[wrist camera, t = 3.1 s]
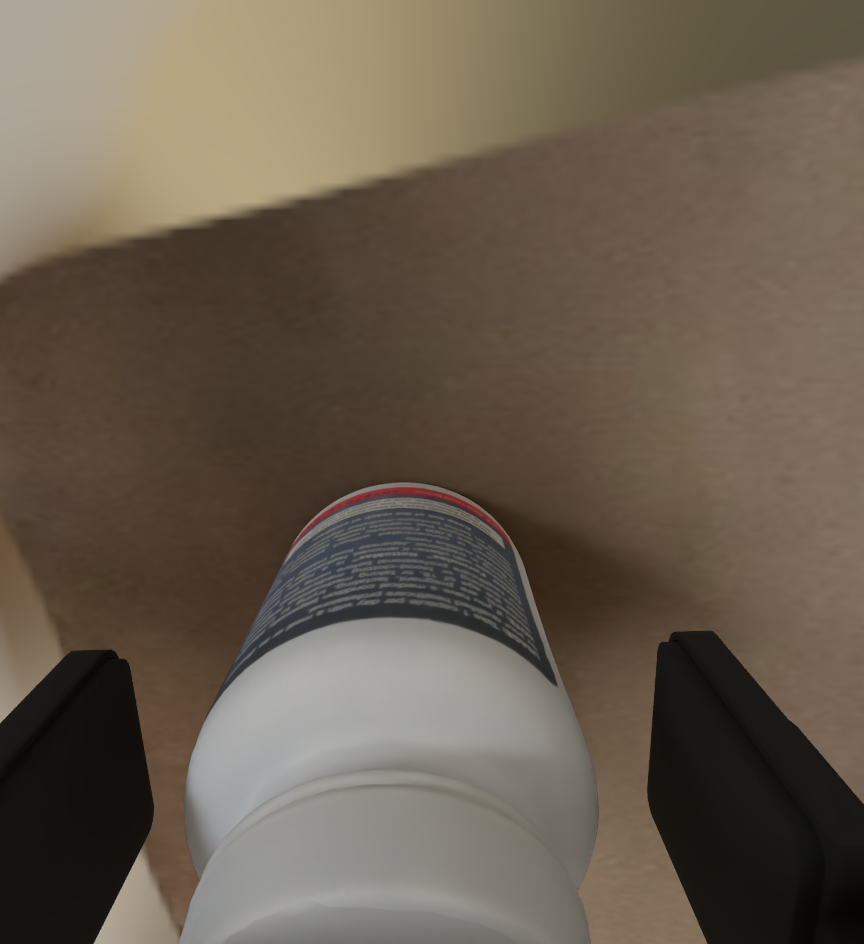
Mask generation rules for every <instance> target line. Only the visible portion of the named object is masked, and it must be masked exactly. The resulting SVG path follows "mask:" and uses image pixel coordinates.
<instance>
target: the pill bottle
mask: <svg viewBox="0 0 864 944" xmlns="http://www.w3.org/2000/svg"><path fill="white" fill-rule="evenodd" d="M598 815H599V809H598V795H597V785H596V779H595V774H594V769H593V764H592V761H591V758H590V755H589V751H588V748H587V745H586V742H585V739H584V737H583V734H582V731H581V729H580V726H579V723H578V721H577V718H576V715H575V713H574V710H573V707H572V705H571V702H570V700H569V697H568V695H567V692H566V690H565V687H564V684H563V682H562V679H561V677H560V674H559V672H558V669H557V666H556V663H555V661H554V658H553V655H552V652H551V650H550V647H549V644H548V641H547V638H546V635H545V632H544V629H543V626H542V623H541V620H540V617H539V613H538V610H537V607H536V604H535V601H534V598H533V594H532V591H531V588H530V584H529V581H528V578H527V574H526V571H525V568H524V565H523V562H522V560H521V557H520V555H519V553H518V551H517V549H516V547H515V545H514V544H513V542H512V541H511V539H510V537H509V536H508V534H507V533H506V532H505V530H504V529H503V528H502V527H501V525H500V524H499V523H498V522H497V521H496V520H495V519H494V518H493V517H492V516H491V515H490V514H489V513H487V512H486V511H485V510H484V509H483V508H481V507H480V506H479V505H477V504H476V503H474V502H472V501H471V500H469V499H467V498H466V497H463V496H461V495H459V494H457V493H455V492H453V491H450V490H447V489H444V488H441V487H437V486H432V485H427V484H421V483H410V482H403V483H388V484H381V485H375V486H371V487H367V488H364V489H361V490H358V491H355V492H353V493H350V494H348V495H346V496H344V497H342V498H340V499H338V500H336V501H335V502H333V503H332V504H330V505H329V506H327V507H326V508H325V509H323V510H322V511H321V512H320V513H318V514H317V515H316V516H315V517H314V518H313V519H312V520H311V521H310V522H309V523H308V524H307V525H306V526H305V527H304V529H303V530H302V531H301V532H300V534H299V535H298V537H297V538H296V540H295V541H294V543H293V545H292V547H291V549H290V550H289V552H288V554H287V555H286V557H285V559H284V561H283V563H282V565H281V567H280V570H279V572H278V574H277V576H276V578H275V580H274V582H273V584H272V586H271V588H270V590H269V592H268V594H267V596H266V598H265V600H264V602H263V604H262V606H261V608H260V610H259V612H258V614H257V616H256V618H255V620H254V622H253V624H252V626H251V628H250V630H249V632H248V634H247V636H246V638H245V640H244V642H243V644H242V646H241V648H240V650H239V652H238V654H237V656H236V658H235V660H234V662H233V664H232V666H231V668H230V670H229V672H228V674H227V676H226V678H225V680H224V682H223V684H222V686H221V688H220V690H219V692H218V694H217V696H216V698H215V700H214V702H213V705H212V706H211V708H210V710H209V712H208V714H207V716H206V719H205V721H204V724H203V726H202V729H201V731H200V734H199V737H198V739H197V742H196V746H195V748H194V751H193V753H192V756H191V760H190V764H189V768H188V773H187V779H186V786H185V794H184V818H185V831H186V839H187V843H188V847H189V851H190V854H191V858H192V862H193V864H194V867H195V869H196V872H197V874H198V877H199V879H200V882H199V884H198V886H197V888H196V890H195V893H194V895H193V898H192V900H191V902H190V906H189V911H188V914H187V917H186V921H185V925H184V928H183V931H182V934H181V937H180V940H179V943H178V944H591V941H590V936H589V928H588V922H587V918H586V914H585V911H584V907H583V904H582V902H581V899H580V897H579V895H578V893H577V890H578V888H579V886H580V884H581V882H582V881H583V879H584V876H585V874H586V871H587V868H588V866H589V863H590V859H591V855H592V852H593V849H594V844H595V839H596V834H597V829H598Z"/></svg>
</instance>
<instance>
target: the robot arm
mask: <svg viewBox="0 0 864 944" xmlns="http://www.w3.org/2000/svg"><path fill="white" fill-rule="evenodd" d="M647 793H648V802H649V807H650V811H651V814H652V817H653V819H654V821H655V824H656V826H657V828H658V831H659V833H660V835H661V838H662V840H663V842H664V844H665V847H666V849H667V851H668V854H669V856H670V858H671V861H672V863H673V865H674V868H675V870H676V872H677V874H678V877H679V879H680V881H681V884H682V886H683V888H684V891H685V893H686V895H687V897H688V900H689V902H690V904H691V907H692V909H693V911H694V914H695V916H696V918H697V920H698V923H699V925H700V927H701V930H702V932H703V934H704V937H705V939H706V941H707V943H708V944H864V804H863V803H862V802H861V801H860V800H859V798H858V797H857V796H856V795H855V794H854V793H853V791H852V790H851V789H850V788H849V787H848V786H847V784H846V783H845V782H844V781H843V780H842V779H841V777H840V776H839V775H838V774H837V773H836V771H835V770H834V769H833V768H832V767H831V766H830V764H829V763H828V762H827V761H826V760H825V759H824V757H823V756H822V755H821V754H820V753H819V752H818V750H817V749H816V748H815V747H814V746H813V745H812V743H811V742H810V741H809V740H808V739H807V737H806V736H805V735H804V734H803V733H802V732H801V730H800V729H799V728H798V727H797V726H796V725H794V724H793V723H792V722H791V721H789V720H788V719H787V717H786V716H785V715H784V714H783V713H782V712H781V710H780V709H779V708H778V707H777V706H776V704H775V703H774V702H773V701H772V700H771V699H770V697H769V696H768V695H767V694H766V693H765V691H764V690H763V689H762V688H761V687H760V686H759V684H758V683H757V682H756V681H755V680H754V678H753V677H752V676H751V675H750V674H749V673H748V671H747V670H746V669H745V668H744V667H743V665H742V664H741V663H740V662H739V661H738V660H737V658H736V657H735V656H734V655H733V654H732V652H731V651H730V650H729V649H728V648H727V647H726V645H725V644H724V643H723V642H722V641H721V639H720V638H719V637H718V636H717V635H716V634H715V633H714V632H713V631H687V632H673V633H672V634H671V636H670V639H669V642H661V643H660V644H659V647H658V652H657V666H656V679H655V692H654V706H653V719H652V733H651V746H650V759H649V773H648V786H647ZM153 815H154V804H153V798H152V792H151V786H150V780H149V775H148V769H147V763H146V757H145V751H144V746H143V740H142V734H141V728H140V722H139V717H138V711H137V705H136V699H135V694H134V688H133V682H132V676H131V670H130V666H129V663H128V662H127V660H125V659H119V658H118V656H117V654H116V652H115V651H113V650H83V651H71V652H70V653H69V654H67V655H66V656H65V657H64V658H63V659H62V660H61V661H60V662H59V663H58V664H57V665H56V666H55V668H54V669H52V671H51V672H50V673H49V674H48V675H47V676H46V677H45V678H44V679H43V680H42V681H41V682H40V683H39V684H38V685H37V686H36V687H35V688H34V689H33V690H32V691H31V692H30V693H29V694H28V695H27V696H26V697H25V699H23V701H21V703H20V704H19V705H18V706H17V707H16V708H15V709H14V710H13V711H12V712H11V713H10V714H9V715H8V716H7V717H6V718H5V719H4V720H3V721H2V722H1V723H0V944H93V943H94V942H95V939H96V937H97V936H98V934H99V931H100V930H101V927H102V926H103V924H104V922H105V919H106V918H107V916H108V913H109V912H110V909H111V908H112V906H113V904H114V902H115V900H116V898H117V896H118V894H119V892H120V890H121V888H122V886H123V884H124V882H125V880H126V878H127V876H128V874H129V872H130V870H131V868H132V866H133V864H134V862H135V860H136V858H137V856H138V854H139V852H140V850H141V848H142V846H143V844H144V842H145V840H146V838H147V836H148V834H149V831H150V829H151V826H152V822H153Z"/></svg>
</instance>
